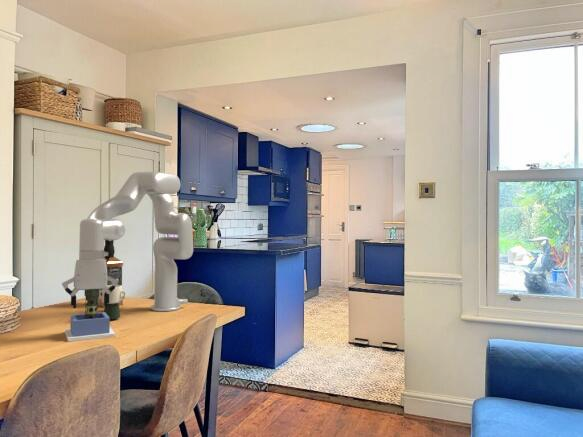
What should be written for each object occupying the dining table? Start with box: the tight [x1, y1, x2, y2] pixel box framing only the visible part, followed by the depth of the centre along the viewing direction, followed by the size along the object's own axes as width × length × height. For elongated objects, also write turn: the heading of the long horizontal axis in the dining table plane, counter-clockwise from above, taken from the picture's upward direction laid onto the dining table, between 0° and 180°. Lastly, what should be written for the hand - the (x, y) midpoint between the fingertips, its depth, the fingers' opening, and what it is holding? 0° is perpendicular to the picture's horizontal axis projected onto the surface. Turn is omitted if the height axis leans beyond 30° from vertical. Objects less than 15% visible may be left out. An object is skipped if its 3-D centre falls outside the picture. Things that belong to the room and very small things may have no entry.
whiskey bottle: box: [98, 240, 124, 308], centre depth 201 cm, size 10×10×32 cm
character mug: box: [99, 285, 127, 320], centre depth 171 cm, size 11×7×13 cm, turn 89°
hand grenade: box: [84, 289, 100, 319], centre depth 149 cm, size 6×5×18 cm
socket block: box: [64, 311, 116, 342], centre depth 148 cm, size 14×14×6 cm
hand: (90, 306), depth 148 cm, fingers open, 9 cm apart
